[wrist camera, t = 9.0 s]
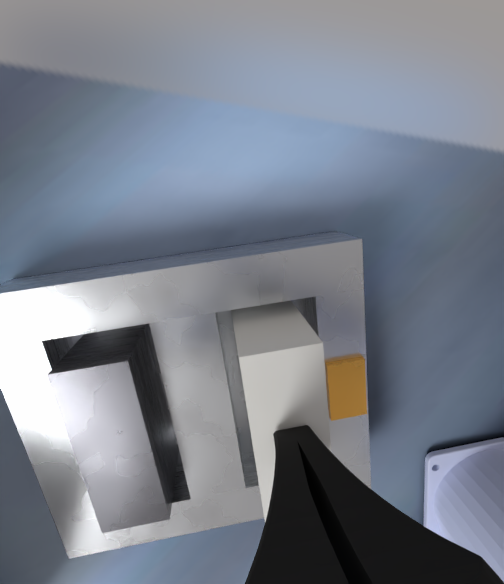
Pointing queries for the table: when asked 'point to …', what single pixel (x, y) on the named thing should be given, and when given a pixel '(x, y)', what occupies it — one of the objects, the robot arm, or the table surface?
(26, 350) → the rack
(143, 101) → the table surface
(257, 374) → the rectangular block
